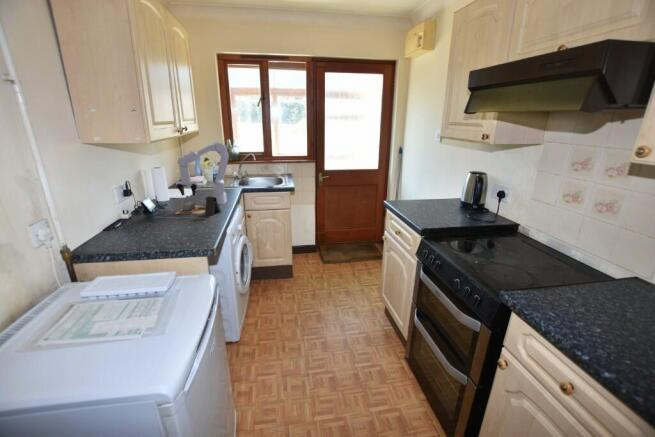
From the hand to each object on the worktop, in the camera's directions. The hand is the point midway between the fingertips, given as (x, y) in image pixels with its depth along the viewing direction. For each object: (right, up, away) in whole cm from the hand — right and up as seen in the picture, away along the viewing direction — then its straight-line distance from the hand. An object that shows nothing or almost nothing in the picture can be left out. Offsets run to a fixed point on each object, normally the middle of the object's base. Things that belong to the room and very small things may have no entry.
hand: (188, 195), depth 202 cm
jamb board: (+5, -11, -1) cm, 12 cm away
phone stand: (+20, -14, -9) cm, 26 cm away
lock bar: (+3, -11, -5) cm, 12 cm away
